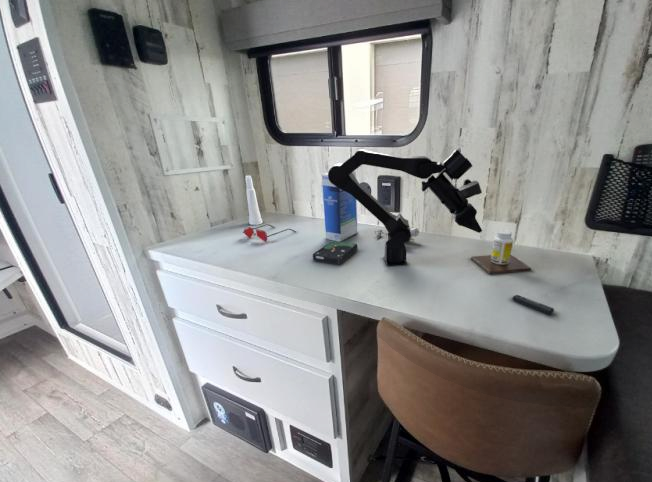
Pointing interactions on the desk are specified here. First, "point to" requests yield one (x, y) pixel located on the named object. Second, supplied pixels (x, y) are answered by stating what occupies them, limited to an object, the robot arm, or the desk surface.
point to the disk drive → (335, 252)
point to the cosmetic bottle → (252, 203)
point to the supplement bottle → (502, 247)
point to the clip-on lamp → (413, 233)
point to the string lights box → (338, 211)
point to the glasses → (260, 232)
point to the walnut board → (494, 268)
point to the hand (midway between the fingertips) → (477, 227)
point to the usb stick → (533, 304)
